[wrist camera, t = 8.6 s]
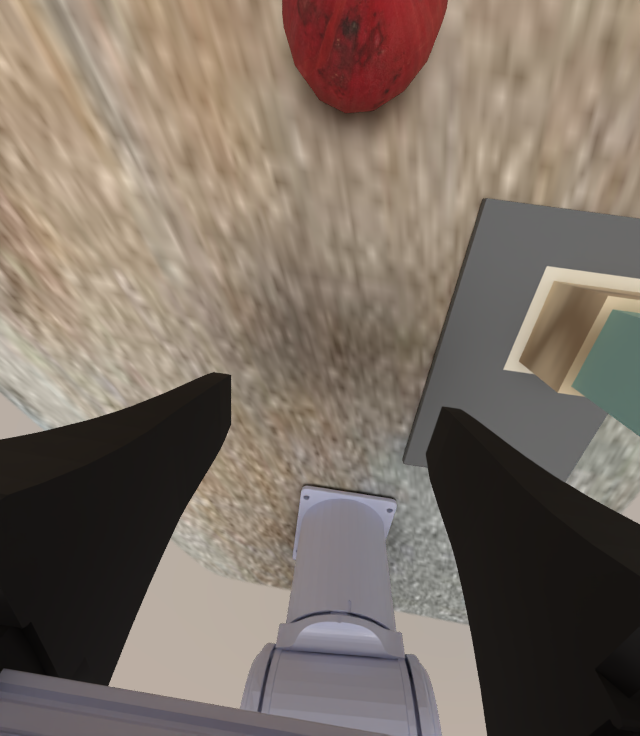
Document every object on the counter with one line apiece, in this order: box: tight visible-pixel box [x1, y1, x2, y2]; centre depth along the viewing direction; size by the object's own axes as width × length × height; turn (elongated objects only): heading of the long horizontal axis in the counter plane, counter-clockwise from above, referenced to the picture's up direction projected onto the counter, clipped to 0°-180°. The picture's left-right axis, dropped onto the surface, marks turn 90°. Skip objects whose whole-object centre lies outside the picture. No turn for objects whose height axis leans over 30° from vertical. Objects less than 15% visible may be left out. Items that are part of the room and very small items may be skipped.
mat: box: [403, 198, 640, 482], centre depth 20 cm, size 18×12×1 cm, turn 173°
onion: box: [282, 0, 448, 113], centre depth 11 cm, size 6×6×8 cm
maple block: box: [519, 281, 640, 397], centre depth 17 cm, size 5×5×4 cm
